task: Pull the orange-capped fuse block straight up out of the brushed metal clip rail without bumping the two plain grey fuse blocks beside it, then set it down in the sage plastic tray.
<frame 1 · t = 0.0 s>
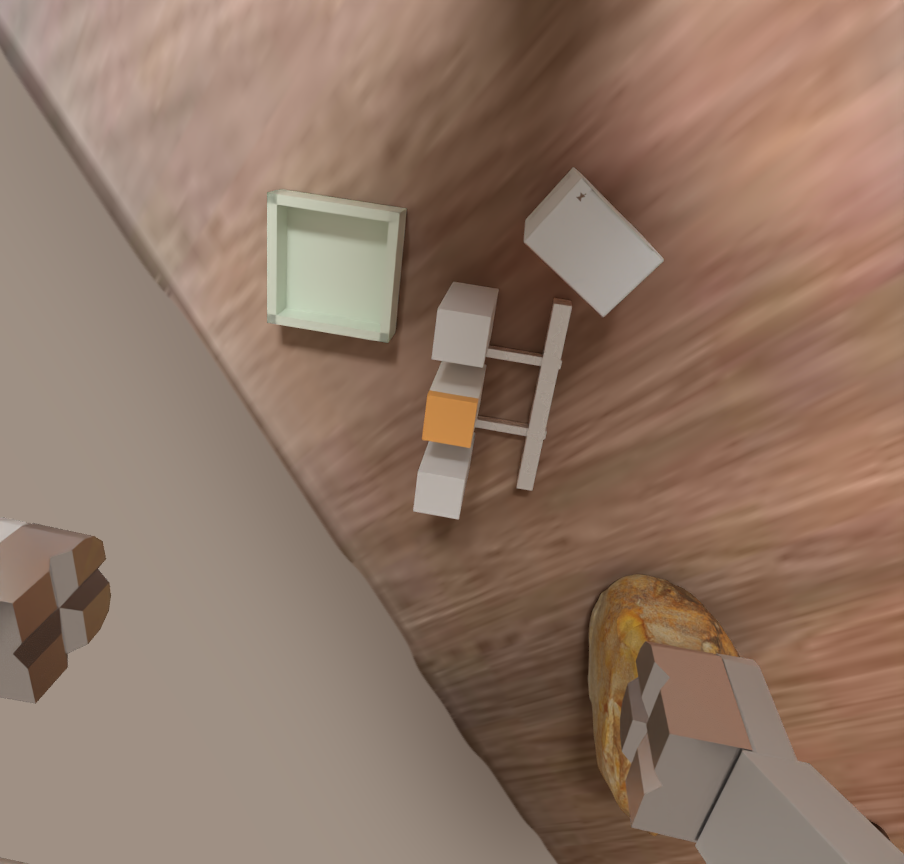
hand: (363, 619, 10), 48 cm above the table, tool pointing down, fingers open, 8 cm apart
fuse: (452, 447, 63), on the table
clip rail: (461, 381, 59), on the table
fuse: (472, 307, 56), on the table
small box: (583, 227, 52), on the table
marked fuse: (461, 381, 59), on the table
tray: (340, 263, 56), on the table
rough brown rock: (663, 648, 70), on the table
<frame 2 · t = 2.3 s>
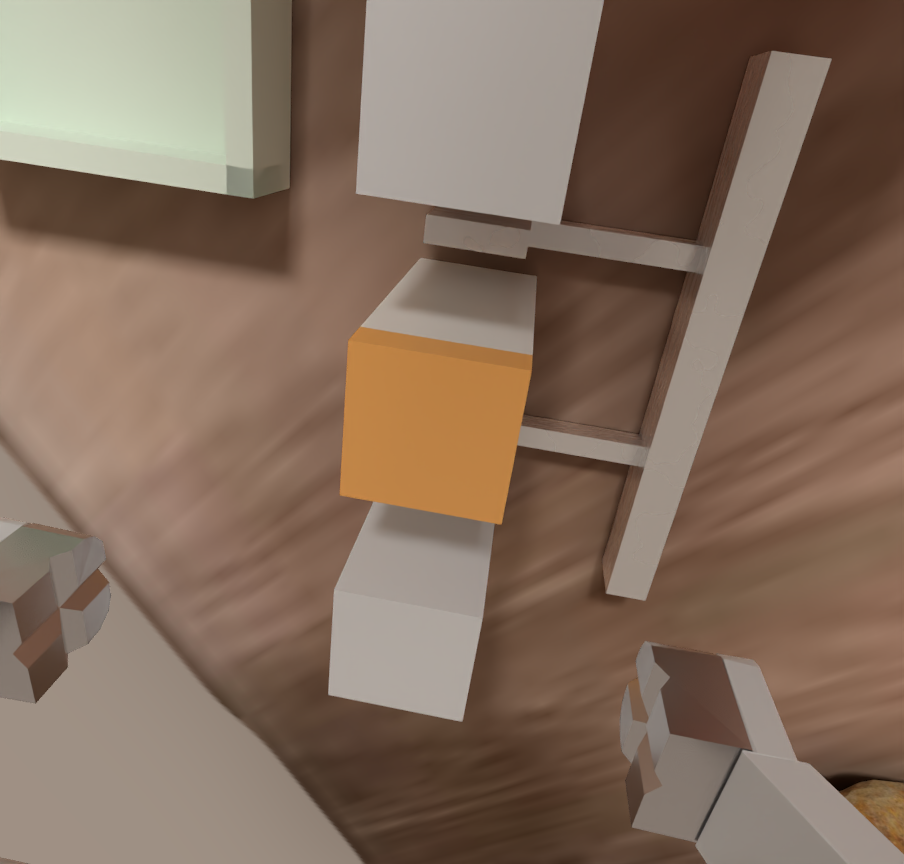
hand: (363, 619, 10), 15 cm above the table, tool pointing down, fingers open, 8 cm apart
clip rail: (470, 323, 23), on the table
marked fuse: (470, 323, 23), on the table
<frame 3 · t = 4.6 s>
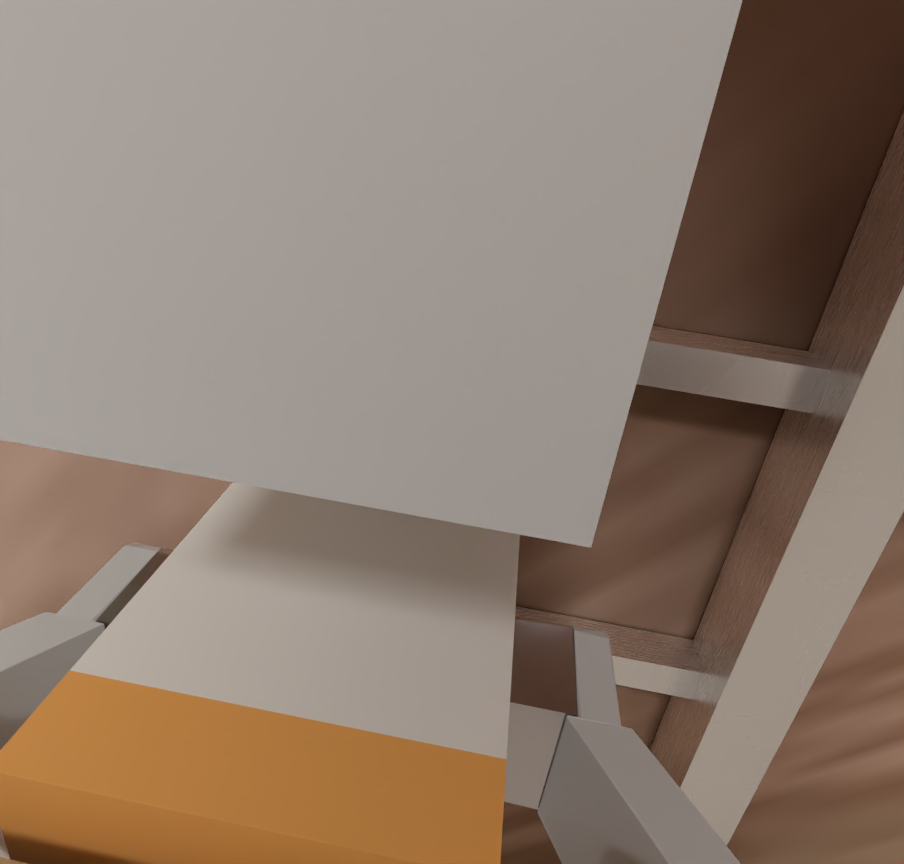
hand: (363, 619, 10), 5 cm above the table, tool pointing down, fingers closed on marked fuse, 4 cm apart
clip rail: (418, 471, 14), on the table
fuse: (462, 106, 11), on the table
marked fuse: (418, 470, 14), on the table, touching gripper
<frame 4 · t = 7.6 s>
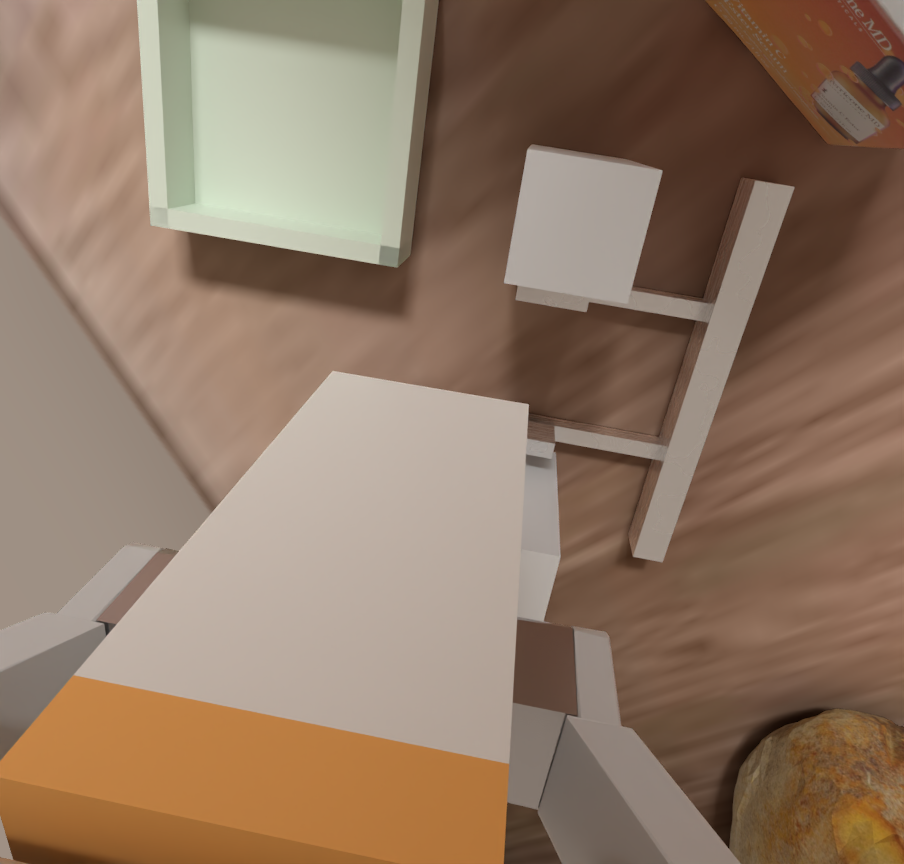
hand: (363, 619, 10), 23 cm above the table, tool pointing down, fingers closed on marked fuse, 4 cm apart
clip rail: (536, 353, 31), on the table
small box: (826, 12, 24), on the table
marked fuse: (419, 473, 14), point 18 cm above the table, touching gripper
tray: (301, 107, 28), on the table
rough brown rock: (852, 817, 41), on the table
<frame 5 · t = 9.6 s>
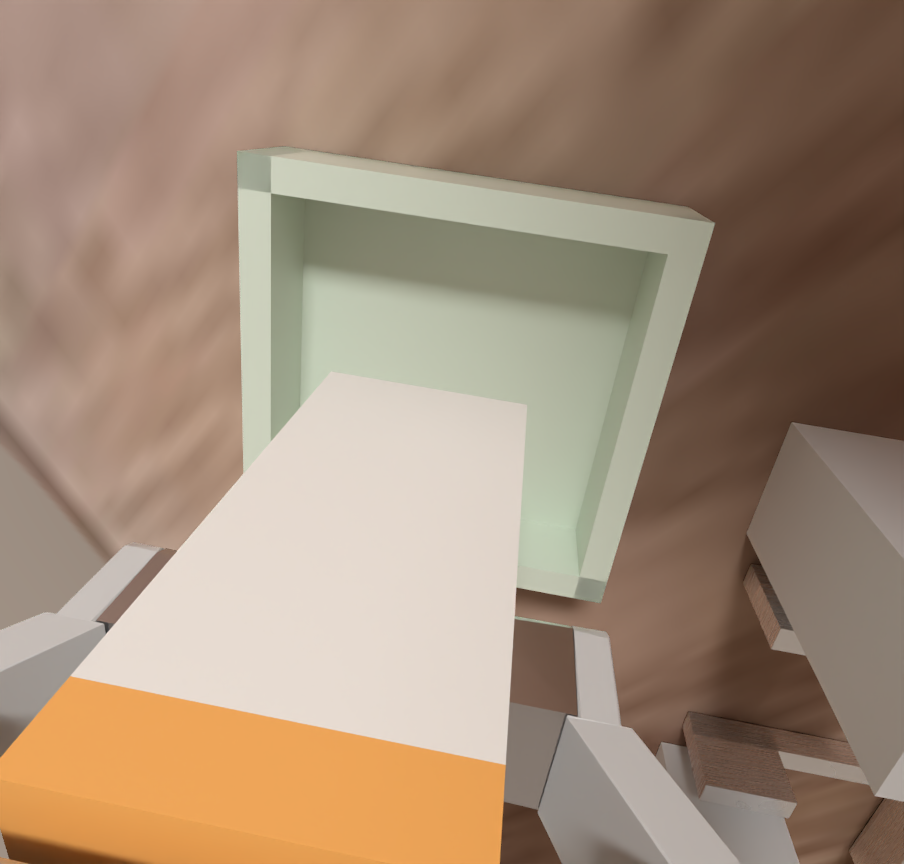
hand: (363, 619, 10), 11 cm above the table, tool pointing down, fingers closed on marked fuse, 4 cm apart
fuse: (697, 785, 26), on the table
clip rail: (756, 659, 23), on the table
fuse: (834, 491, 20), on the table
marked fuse: (417, 473, 14), point 6 cm above the table, touching gripper
tray: (455, 366, 19), on the table
when the fingers open (6 cm above the table, at t = 10.9 s): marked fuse stays where it is, resting on tray.
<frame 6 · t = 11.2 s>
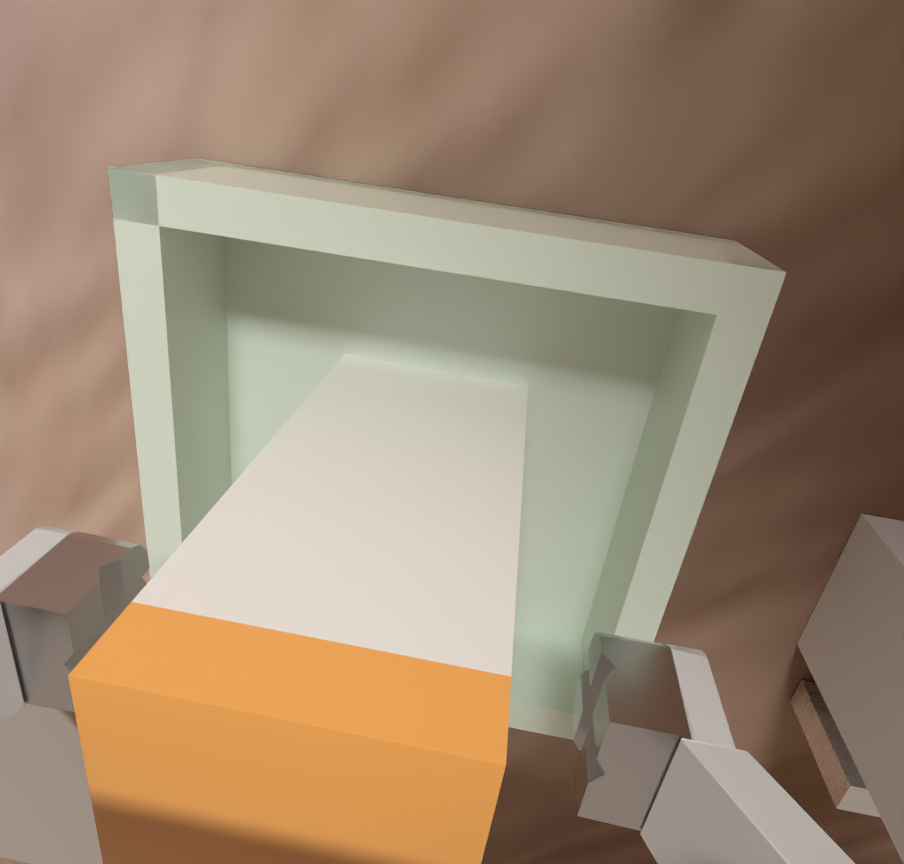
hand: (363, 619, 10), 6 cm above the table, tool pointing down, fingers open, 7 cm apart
clip rail: (804, 787, 18), on the table
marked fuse: (425, 451, 15), point 1 cm above the table, touching tray
tray: (428, 438, 15), on the table
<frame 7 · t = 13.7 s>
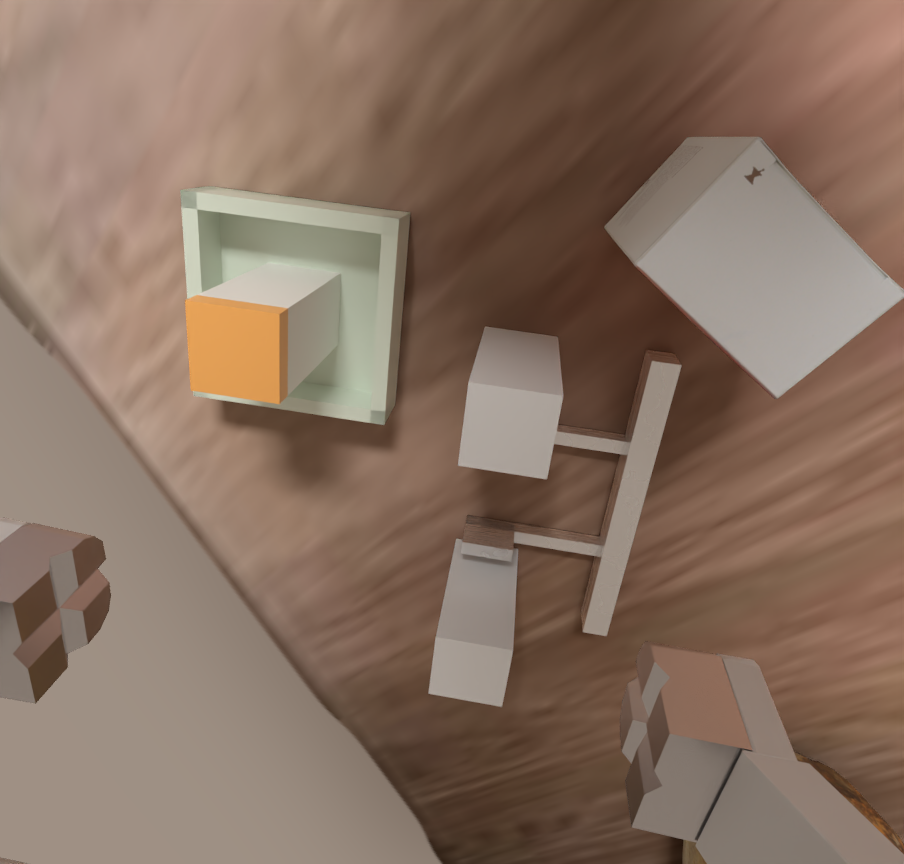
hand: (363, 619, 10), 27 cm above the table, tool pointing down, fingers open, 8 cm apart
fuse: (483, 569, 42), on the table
clip rail: (498, 475, 39), on the table
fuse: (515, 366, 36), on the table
small box: (698, 237, 32), on the table
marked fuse: (304, 304, 35), point 1 cm above the table, touching tray
tray: (307, 301, 36), on the table
rough brown rock: (787, 836, 49), on the table
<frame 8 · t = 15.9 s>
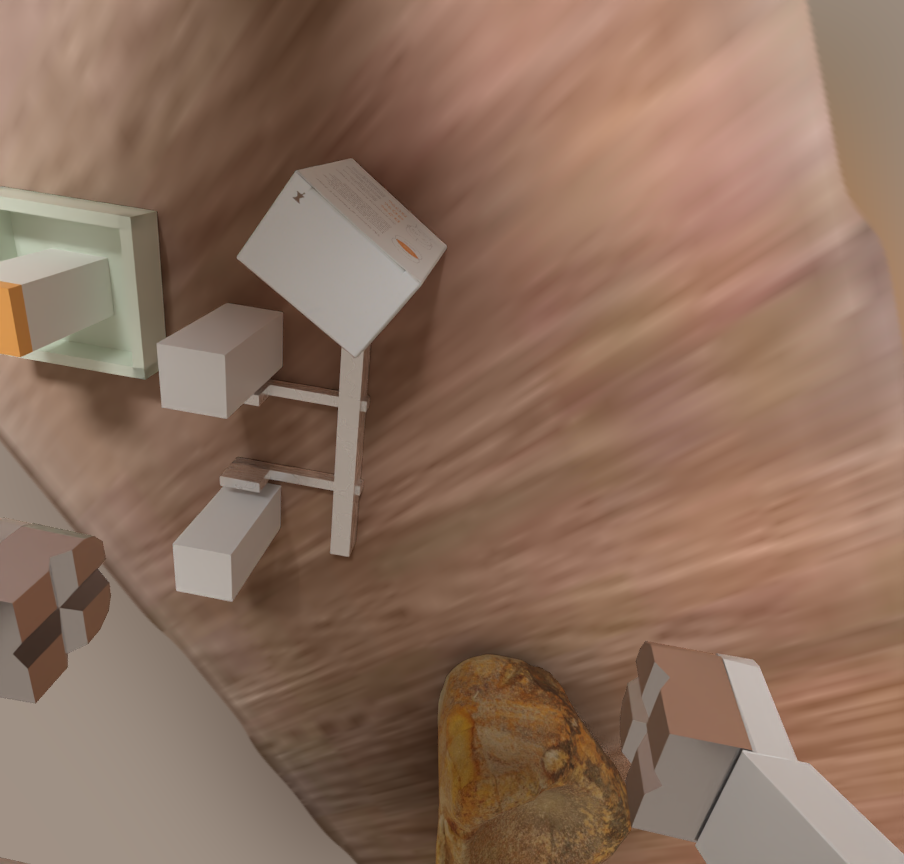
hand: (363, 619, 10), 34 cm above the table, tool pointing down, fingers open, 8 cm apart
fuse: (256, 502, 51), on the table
clip rail: (255, 424, 48), on the table
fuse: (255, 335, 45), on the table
small box: (376, 235, 41), on the table
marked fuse: (83, 282, 44), point 1 cm above the table, touching tray
tray: (88, 279, 45), on the table
rough brown rock: (533, 734, 59), on the table
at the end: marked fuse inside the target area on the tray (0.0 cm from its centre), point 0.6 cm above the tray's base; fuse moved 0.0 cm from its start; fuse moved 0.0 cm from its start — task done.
